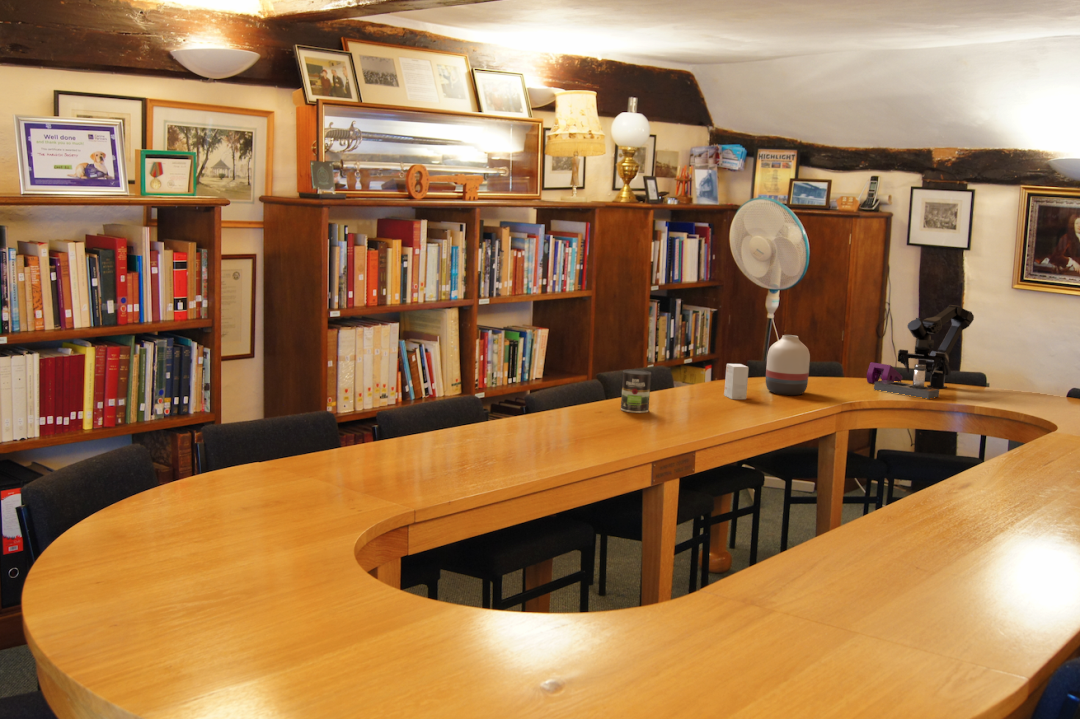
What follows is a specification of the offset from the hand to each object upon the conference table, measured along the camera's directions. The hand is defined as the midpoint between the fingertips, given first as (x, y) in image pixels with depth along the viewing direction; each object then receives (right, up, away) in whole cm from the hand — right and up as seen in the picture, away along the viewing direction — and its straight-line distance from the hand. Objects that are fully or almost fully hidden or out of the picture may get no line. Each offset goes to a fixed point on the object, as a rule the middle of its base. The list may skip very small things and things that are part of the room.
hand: (919, 373), depth 401 cm
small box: (-83, -10, -23) cm, 86 cm away
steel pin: (-2, -9, -1) cm, 10 cm away
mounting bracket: (-5, -5, +27) cm, 28 cm away
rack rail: (-5, -9, +2) cm, 10 cm away
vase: (-59, -8, -8) cm, 60 cm away
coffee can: (-126, -13, -56) cm, 138 cm away
